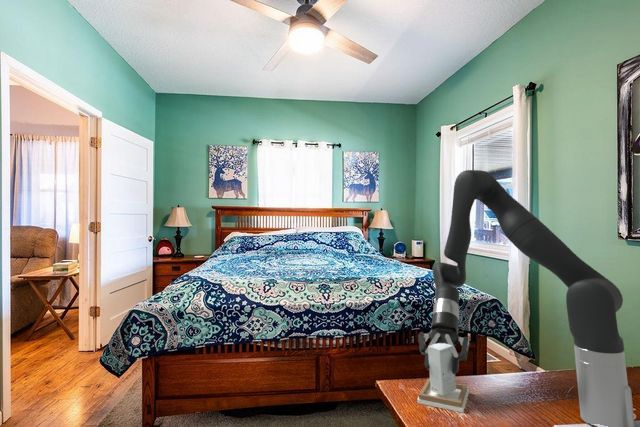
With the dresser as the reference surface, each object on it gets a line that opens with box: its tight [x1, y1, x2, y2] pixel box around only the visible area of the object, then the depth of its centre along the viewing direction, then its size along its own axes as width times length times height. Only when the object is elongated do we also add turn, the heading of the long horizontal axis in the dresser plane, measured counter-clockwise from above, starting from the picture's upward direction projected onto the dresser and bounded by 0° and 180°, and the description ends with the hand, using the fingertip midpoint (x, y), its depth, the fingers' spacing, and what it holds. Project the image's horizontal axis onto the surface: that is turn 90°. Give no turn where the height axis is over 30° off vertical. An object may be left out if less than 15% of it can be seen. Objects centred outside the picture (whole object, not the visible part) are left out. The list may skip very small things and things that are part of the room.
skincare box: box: [427, 343, 457, 396], centre depth 94 cm, size 6×4×12 cm
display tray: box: [417, 377, 470, 414], centre depth 93 cm, size 12×12×2 cm
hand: (440, 370), depth 92 cm, fingers closed on skincare box, 6 cm apart
